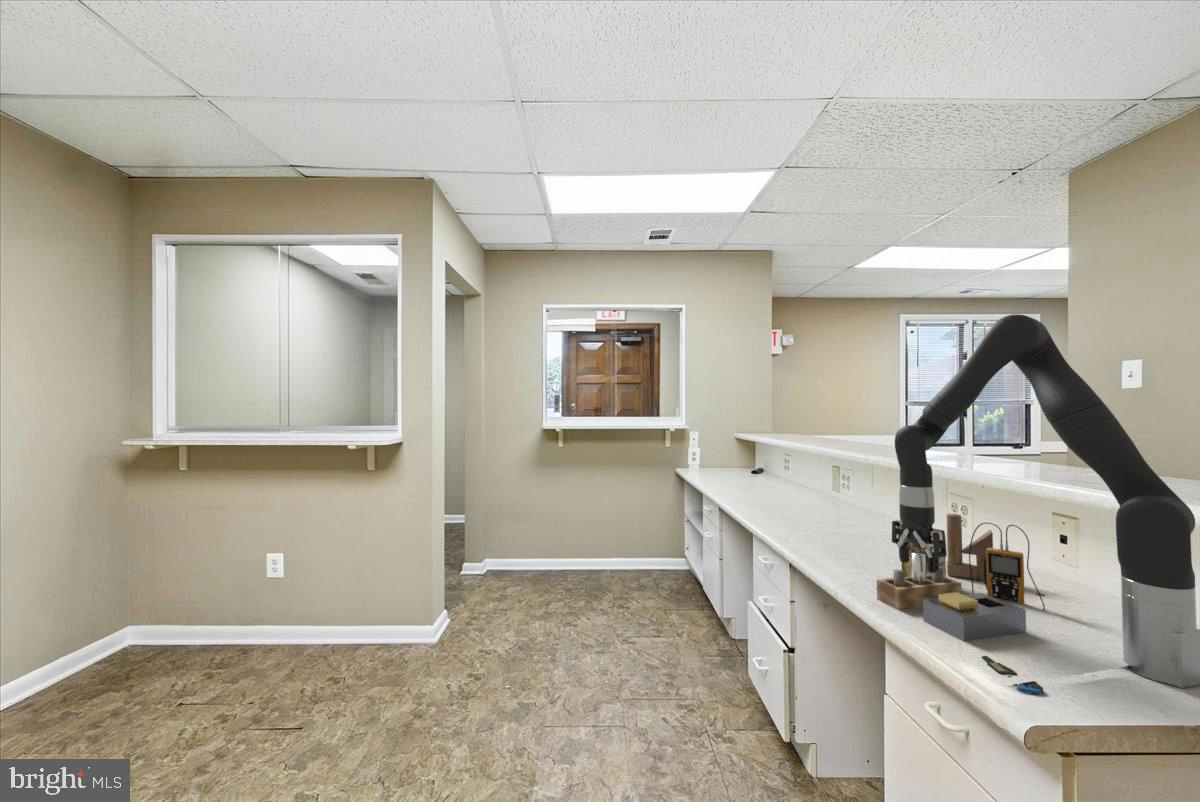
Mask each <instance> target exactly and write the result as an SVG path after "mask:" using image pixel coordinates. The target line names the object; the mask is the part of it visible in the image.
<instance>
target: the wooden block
mask: <svg viewBox="0 0 1200 802" xmlns="http://www.w3.org/2000/svg"><path fill="white" fill-rule="evenodd" d="M962 521H963V519H962V515H961V514H957V513H947V514H946V539H947V540H946V542H947V543H946V552H947V561H946V575H947V577H948V576H949V577H954V578H963V579H970V580H971V573H970V564H969V563H967V562H964V561H963V554H964V555H969V549H970V544H968V545H967V546H965V547H963V531H962V530H963V527H962V525H963V523H962ZM993 533H994V532H992V530H991V529H989V530H988V531H986V532H985V533H984V534H982V535H980V536H979V537H977V538H976V539H975V540H974V541H972V544H971V551H970V556H971V555H972V556H975V558H976V559H975V560H976V561H975V563H976V564H972V563H971V571H972V580H979V581H982V580H983V582H985V581H984V559H985V555H986V550H987V548H994V540H993V539H994V537H993V536H994V535H993ZM986 575H987V570H986Z"/></svg>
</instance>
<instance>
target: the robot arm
mask: <svg viewBox="0 0 1200 802" xmlns="http://www.w3.org/2000/svg"><path fill="white" fill-rule="evenodd" d="M1010 362H1013V363H1014V365H1016V367H1017V368H1018V369H1019V370H1020V372H1021V373H1022V374H1023V375H1024V376H1025V377H1026V378H1027V380H1028V382H1029V383H1030V385H1031V388H1032V389H1033V391H1034V394H1035V396H1036V399H1037V402H1038V405H1039V406H1040V409H1041V411H1042V413H1043V414H1044V416H1045V418H1046V419H1047V421H1048V423H1049V424H1050V426H1051V427H1052V428H1053V430H1054V431H1055V432H1056V434H1057V435H1058V437H1059V438H1060V440H1062V442H1063V443H1064V444H1065V445H1066V447H1068V448H1069V449H1070V450H1071V452H1072V453H1074V455H1076V456H1077V457H1078V458H1079V459H1080V460H1082V461H1083V463H1085V464H1086V466H1088V467H1089V468H1090V469H1092V471H1094V472H1095V473H1096V475H1098V476H1099V477H1100V479H1102V481H1104V483H1105V485H1106V487H1108V489H1109V490H1110V492H1111V493H1112V496H1113V497H1114V498H1115V500H1116V501H1117V502H1116V503H1118V505H1119V508H1118V510H1117V511H1116V516H1115V534H1116V551H1117V553H1116V554H1117V561H1118V563H1119V565H1120V566H1119V567H1120V580H1121V581H1120V582H1121V583H1120V584H1121V585H1120V586H1121V589H1120V591H1121V619H1122V647H1123V651H1122V653H1123V654H1122V655H1123V661H1124V663H1125V664H1127V665H1125V667H1126V668H1127V669H1128V670H1130V671H1131V672H1133V673H1136V674H1137V675H1139V676H1143V677H1144V678H1146V679H1147V678H1148V679H1150V680H1153V681H1156V682H1160V683H1164V684H1168V685H1172V686H1175V687H1178V688H1180V689H1184V688H1188V687H1189V688H1190V687H1195V686H1200V629H1199V628H1197V607H1196V606H1197V605H1196V604H1197V602H1196V599H1197V598H1196V574H1195V571H1194V567H1193V564H1192V563H1193V561H1192V560H1193V559H1192V540H1191V539H1192V538H1191V537H1192V536H1191V535H1192V533H1193V532H1194V529H1195V528H1196V527H1195V526H1196V518H1195V515H1194V513H1193V511H1192V510H1191V508H1190V507H1189V506H1188V505H1187V504H1186V503H1185V502H1184V501H1183V500H1182V499H1181V497H1179V496H1178V495H1177V494H1176V493H1175V492H1174V491H1173V490H1172V489H1171V488H1170V487H1169V486H1168V485H1167V483H1165V481H1163V480H1162V479H1161V478H1160V477H1159V476H1158V474H1157V473H1156V472H1155V471H1154V470H1153V469H1152V468H1151V466H1150V465H1149V464H1148V463H1147V461H1146V460H1145V458H1144V457H1143V456H1142V454H1141V452H1140V451H1139V449H1138V447H1137V446H1136V444H1135V443H1134V441H1133V440H1132V438H1131V437H1130V435H1129V434H1128V433H1127V432H1126V430H1125V429H1124V427H1123V426H1122V425H1121V423H1120V422H1119V420H1118V419H1117V417H1115V415H1114V414H1113V412H1112V411H1111V409H1109V407H1108V406H1107V405H1106V404H1105V402H1104V401H1103V400H1102V399H1101V397H1099V395H1098V394H1097V393H1096V392H1095V391H1094V390H1093V389H1092V387H1091V386H1090V385H1089V384H1088V383H1087V382H1086V381H1085V380H1084V379H1083V378H1082V377H1081V376H1080V375H1079V374H1078V373H1077V372H1076V370H1074V369H1073V368H1072V366H1070V364H1069V363H1068V362H1067V360H1066V359H1065V358H1064V355H1063V354H1062V353H1061V351H1060V349H1059V348H1058V346H1057V344H1056V342H1055V341H1054V339H1053V337H1052V336H1051V334H1050V333H1049V331H1048V329H1047V328H1046V326H1045V324H1043V323H1042V322H1041V321H1039V320H1037V319H1036V318H1033V317H1031V316H1028V315H1023V314H1009V315H1006V316H1004V317H1001V318H999V319H998V320H997V321H996V322H995V323H993V324H992V326H991V327H990V329H988V331H987V333H986V334H985V335H984V337H983V338H982V340H981V341H980V343H979V344H978V346H977V347H976V349H975V350H974V351H973V353H972V354H971V355H970V357H969V358H968V359H967V361H966V362H965V363H964V364H963V366H961V368H960V369H959V370H958V371H957V372H956V374H954V376H953V377H952V378H951V379H950V380H949V381H948V382H947V383H946V385H944V386H943V387H942V388H941V389H940V391H938V392H937V393H936V395H935V396H934V397H933V398H932V399H930V401H929V402H928V403H927V404H926V405H925V406H924V408H923V409H922V414H921V416H919V418H918V419H917V420H916V421H915V422H914V423H913V424H911V425H905V426H902V427H901V428H899V429H898V430H896V431H897V432H896V433H895V436H894V449H895V454H896V459H897V463H898V465H899V484H900V485H899V491H898V492H899V493H898V495H899V496H898V497H899V499H898V501H899V503H898V504H899V520H893V521H892V522H891V542H892V543H893V544H896V545H897V547H898V554H899V555H898V557H899V561H900V563H902V562H903V563H904V562H909V548H908V546H909V544H910V543H911V542H914V543H916V544H918V545H920V546H921V547H922V549H924V550H925V551H926V553H927V555H928V572H930V573H937V572H938V570H939V557H945V558H946V557H948V552H947V543H946V542H947V540H946V534H945V531H944V532H936V531H934V530H933V525H934V524H935V521H936V519H935V517H936V515H935V492H934V485H933V468H932V466H931V464H929V463H928V461H927V453H926V452H927V451H929V450H930V449H931V448H933V447H934V446H935V445H936V444H937V443H938V442H939V441H940V440H941V439H942V438H943V436H944V434H945V433H946V432H947V431H948V428H949V427H950V426H951V425H952V424H954V423H955V422H956V421H957V420H958V419H960V417H962V415H963V414H964V413H965V412H967V410H969V409H970V407H972V406H973V404H974V403H975V401H976V400H977V399H978V397H979V396H980V395H981V393H982V392H983V390H984V389H985V387H986V385H988V383H989V382H990V381H991V380H992V378H993V377H995V375H996V374H997V373H998V372H999V371H1000V370H1002V369H1003V368H1004V367H1005V366H1007V364H1009V363H1010ZM903 531H904V533H903ZM928 542H929V543H930V544H927V543H928ZM939 548H940V550H939ZM930 549H931V550H932V551H933V552H931V550H930ZM940 551H941V552H940Z"/></svg>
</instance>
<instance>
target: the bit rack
mask: <svg viewBox="0 0 1200 802" xmlns="http://www.w3.org/2000/svg"><path fill="white" fill-rule="evenodd" d="M892 571H893V572H892V573H893V577H891V578H890V577H889V578H880V579H876V600H877V601H879V602H882V603H883V604H885V605H887V606H889V607H891V608H894V609H895V610H898V611H904V610H914V609H922V608H923V599H931V598H939V594H946V593H955V592H958V593H960V594H963V593H962V591H963V587H962V582H961V581H958V580H956V579H953V578H951V577H948V576H946V577H945V576H943V568H942V567H939V570H938V572H937V573H932V574H928V575H926V584H925V585H917V584H915V583H912V576H908V577H905V575H904V571H902V569H893V570H892Z"/></svg>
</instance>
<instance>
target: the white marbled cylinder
mask: <svg viewBox="0 0 1200 802" xmlns="http://www.w3.org/2000/svg"><path fill="white" fill-rule="evenodd" d="M911 563H912V583H915V584H917V585H925V584H926V562H925V554H924V553H920V552H911Z"/></svg>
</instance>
